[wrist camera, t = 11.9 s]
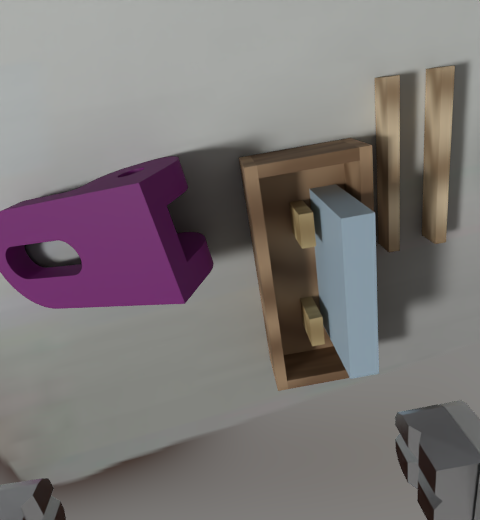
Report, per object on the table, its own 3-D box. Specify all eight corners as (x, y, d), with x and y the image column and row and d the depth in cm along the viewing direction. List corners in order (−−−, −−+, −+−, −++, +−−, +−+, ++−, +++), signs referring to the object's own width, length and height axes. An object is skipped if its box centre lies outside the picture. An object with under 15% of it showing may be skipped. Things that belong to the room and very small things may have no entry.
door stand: (374, 78, 34) (387, 77, 31) (437, 67, 34) (454, 65, 31) (378, 242, 40) (389, 252, 37) (431, 233, 40) (445, 242, 37)
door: (309, 188, 36) (341, 218, 28) (339, 183, 36) (379, 211, 28) (321, 321, 42) (350, 378, 33) (346, 316, 42) (382, 372, 33)
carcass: (238, 157, 35) (243, 167, 31) (350, 137, 35) (372, 145, 31) (270, 359, 44) (278, 390, 40) (359, 342, 44) (377, 372, 40)
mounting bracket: (81, 265, 44) (226, 252, 37) (22, 309, 38) (185, 304, 30) (42, 184, 41) (195, 150, 33) (-33, 216, 34) (139, 182, 26)
